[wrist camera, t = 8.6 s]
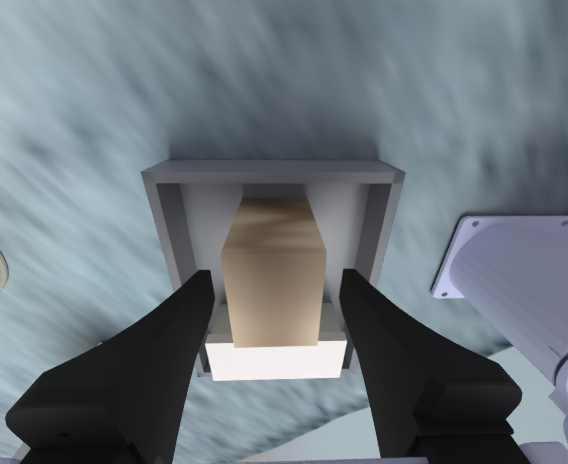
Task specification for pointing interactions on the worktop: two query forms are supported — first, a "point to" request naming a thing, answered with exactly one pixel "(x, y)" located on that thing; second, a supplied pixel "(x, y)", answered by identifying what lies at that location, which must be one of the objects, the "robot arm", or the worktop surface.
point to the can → (3, 272)
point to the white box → (276, 353)
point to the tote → (273, 184)
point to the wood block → (274, 273)
